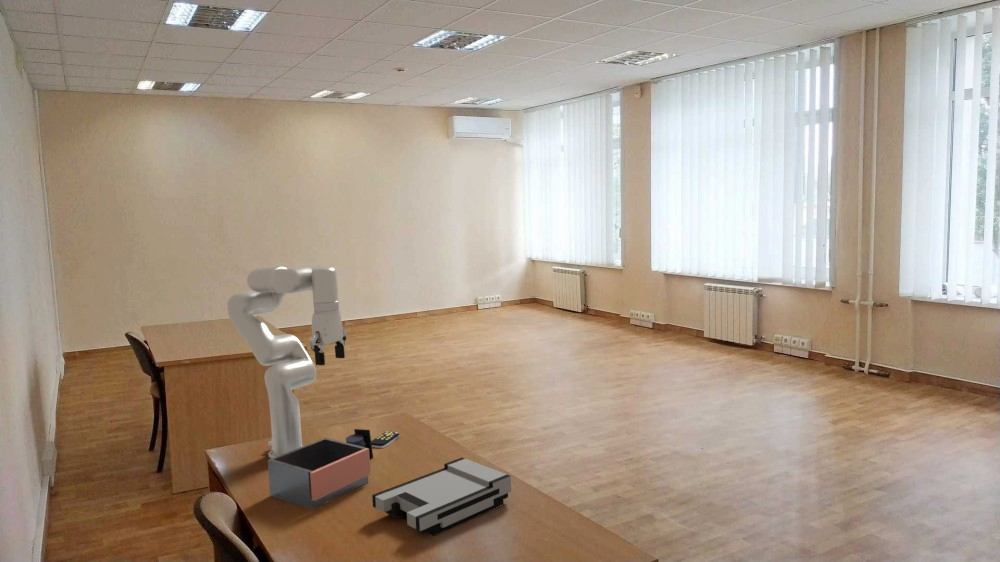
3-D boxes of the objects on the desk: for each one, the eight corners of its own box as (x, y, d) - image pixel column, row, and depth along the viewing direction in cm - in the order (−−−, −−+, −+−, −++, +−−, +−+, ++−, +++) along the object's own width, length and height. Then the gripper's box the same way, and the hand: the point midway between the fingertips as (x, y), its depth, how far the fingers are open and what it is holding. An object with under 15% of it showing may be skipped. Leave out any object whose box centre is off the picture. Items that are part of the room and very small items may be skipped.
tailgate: (311, 499, 200) (310, 472, 199) (367, 473, 217) (366, 448, 216) (314, 500, 199) (313, 473, 198) (370, 474, 217) (369, 448, 216)
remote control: (367, 448, 249) (367, 442, 248) (385, 435, 261) (385, 430, 260) (383, 449, 247) (382, 444, 246) (401, 437, 258) (400, 432, 258)
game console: (373, 519, 194) (371, 490, 193) (463, 483, 216) (462, 457, 215) (420, 545, 179) (419, 514, 178) (511, 503, 201) (510, 475, 200)
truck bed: (270, 496, 210) (267, 460, 209) (327, 470, 228) (325, 437, 227) (311, 510, 200) (309, 472, 199) (368, 482, 218) (366, 447, 217)
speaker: (360, 454, 241) (358, 425, 239) (373, 458, 238) (370, 429, 236) (344, 463, 235) (341, 434, 233) (357, 467, 232) (354, 438, 229)
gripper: (334, 302, 231) (338, 354, 233) (297, 311, 215) (302, 367, 217) (353, 303, 228) (357, 356, 230) (317, 312, 212) (322, 368, 214)
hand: (330, 361), depth 224 cm, fingers open, 9 cm apart
